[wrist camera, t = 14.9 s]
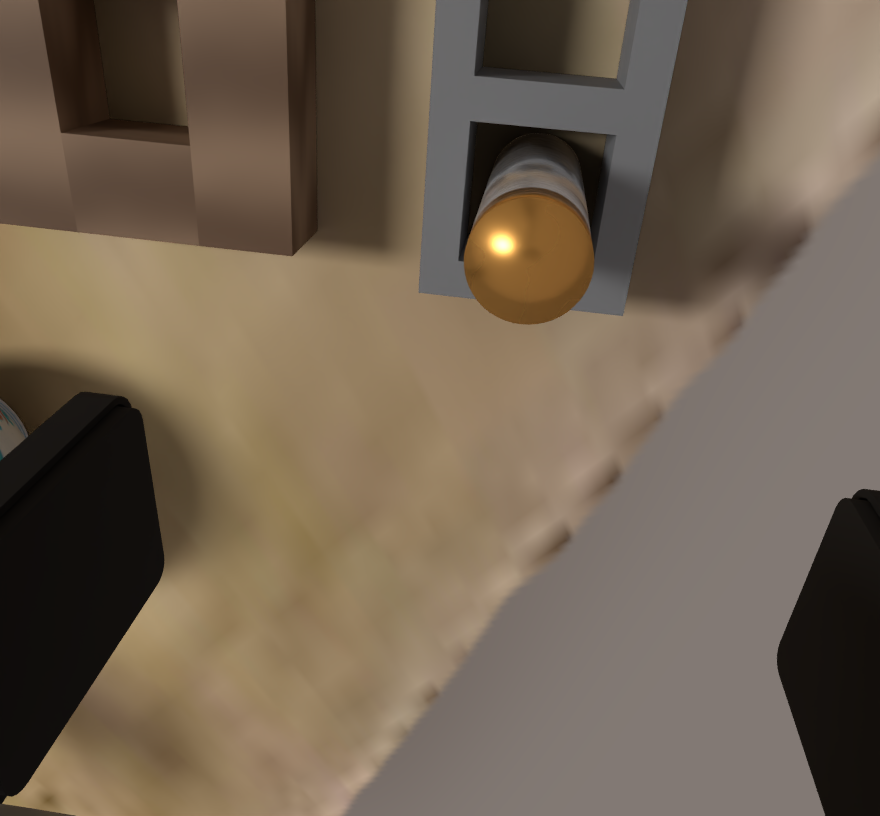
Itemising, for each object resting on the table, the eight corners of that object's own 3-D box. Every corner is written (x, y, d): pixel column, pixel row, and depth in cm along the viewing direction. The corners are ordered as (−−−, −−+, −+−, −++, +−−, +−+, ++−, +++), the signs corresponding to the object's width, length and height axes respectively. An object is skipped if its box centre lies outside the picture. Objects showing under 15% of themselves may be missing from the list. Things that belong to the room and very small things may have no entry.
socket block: (-26, -149, 30) (-101, -167, 27) (313, -125, 29) (281, -141, 26) (41, 200, 37) (-12, 221, 34) (317, 230, 36) (292, 256, 32)
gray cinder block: (459, -147, 28) (446, -167, 25) (697, -131, 27) (718, -148, 24) (431, 263, 36) (418, 292, 33) (615, 284, 35) (622, 316, 32)
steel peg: (496, 128, 33) (469, 192, 22) (588, 137, 32) (605, 206, 22) (487, 219, 35) (458, 316, 24) (573, 228, 34) (582, 331, 24)
